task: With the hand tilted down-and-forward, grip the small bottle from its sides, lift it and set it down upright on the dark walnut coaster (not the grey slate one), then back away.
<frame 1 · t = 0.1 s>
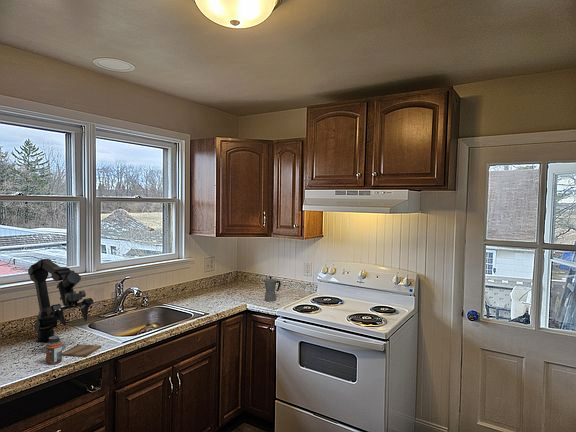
hand: (76, 323, 173), 15 cm above the worktop, tool tilted 35°, fingers open, 9 cm apart
coffeepot: (271, 300, 280), on the worktop
supplement bottle: (54, 362, 165), on the worktop
slate coaster: (53, 349, 180), on the worktop
walnut coaster: (81, 351, 177), on the worktop
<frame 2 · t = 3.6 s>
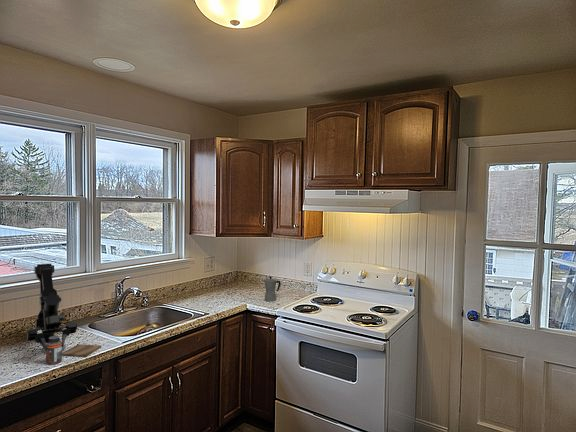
hand: (54, 348, 163), 7 cm above the worktop, tool tilted 45°, fingers closed on supplement bottle, 6 cm apart
supplement bottle: (54, 362, 165), on the worktop, touching gripper
everything else where it was.
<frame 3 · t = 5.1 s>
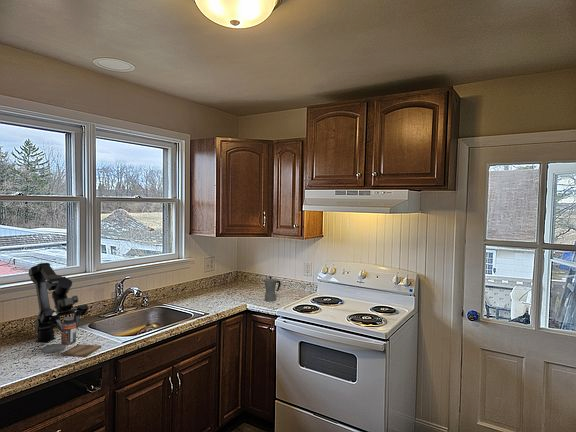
hand: (70, 329, 170), 13 cm above the worktop, tool tilted 45°, fingers closed on supplement bottle, 6 cm apart
supplement bottle: (68, 343, 171), point 6 cm above the worktop, touching gripper
everything else where it was.
when the fingers open (9 cm above the worktop, at t = 6.8 s): supplement bottle drops 1 cm, resting on walnut coaster.
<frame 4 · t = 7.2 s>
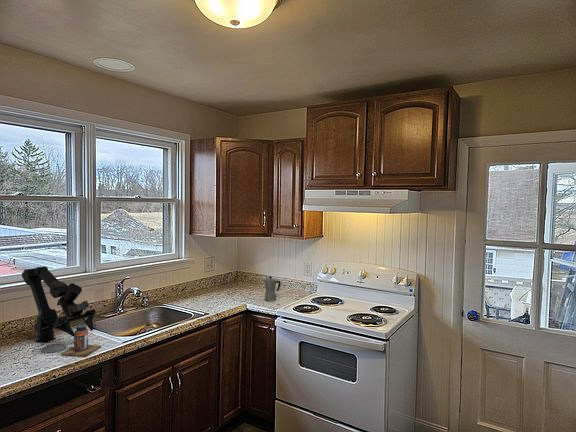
hand: (83, 333, 176), 9 cm above the worktop, tool tilted 45°, fingers open, 9 cm apart
supplement bottle: (81, 349, 177), point 1 cm above the worktop, touching walnut coaster
everything else where it was.
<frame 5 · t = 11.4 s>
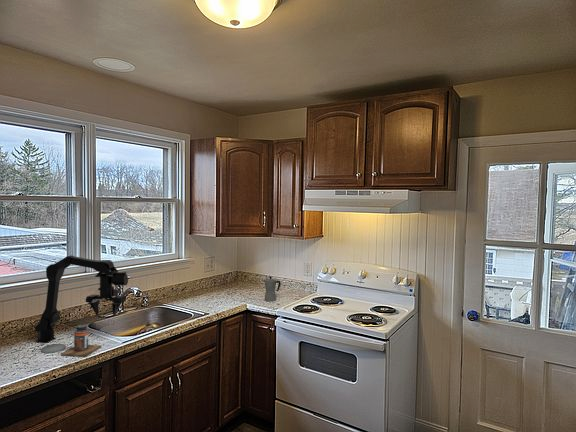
hand: (105, 315, 192), 13 cm above the worktop, tool pointing down, fingers open, 9 cm apart
nothing on the worktop moved.
at the end: supplement bottle inside the target area (0.2 cm from its centre), point 0.8 cm above the worktop; supplement bottle tilted 0°; the gripper is holding nothing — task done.
